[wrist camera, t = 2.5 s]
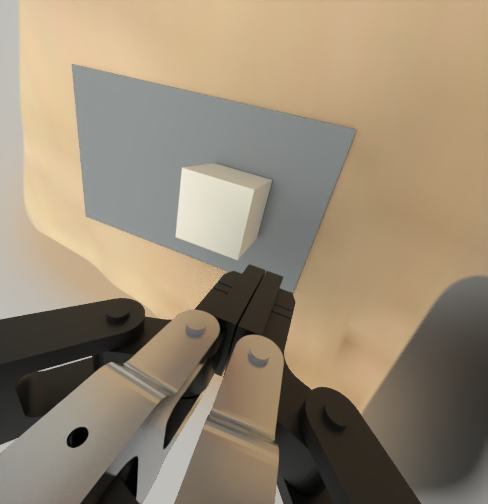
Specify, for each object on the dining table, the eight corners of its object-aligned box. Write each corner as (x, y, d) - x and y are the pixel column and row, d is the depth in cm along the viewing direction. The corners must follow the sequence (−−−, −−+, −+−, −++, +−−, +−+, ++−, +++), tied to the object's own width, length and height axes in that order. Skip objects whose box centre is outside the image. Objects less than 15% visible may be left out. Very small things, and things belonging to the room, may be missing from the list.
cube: (273, 179, 19) (254, 189, 15) (257, 236, 21) (237, 260, 17) (215, 162, 20) (181, 167, 16) (206, 219, 22) (175, 237, 18)
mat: (356, 129, 16) (356, 129, 16) (292, 294, 23) (291, 296, 22) (75, 65, 21) (71, 64, 21) (88, 215, 28) (85, 216, 27)
